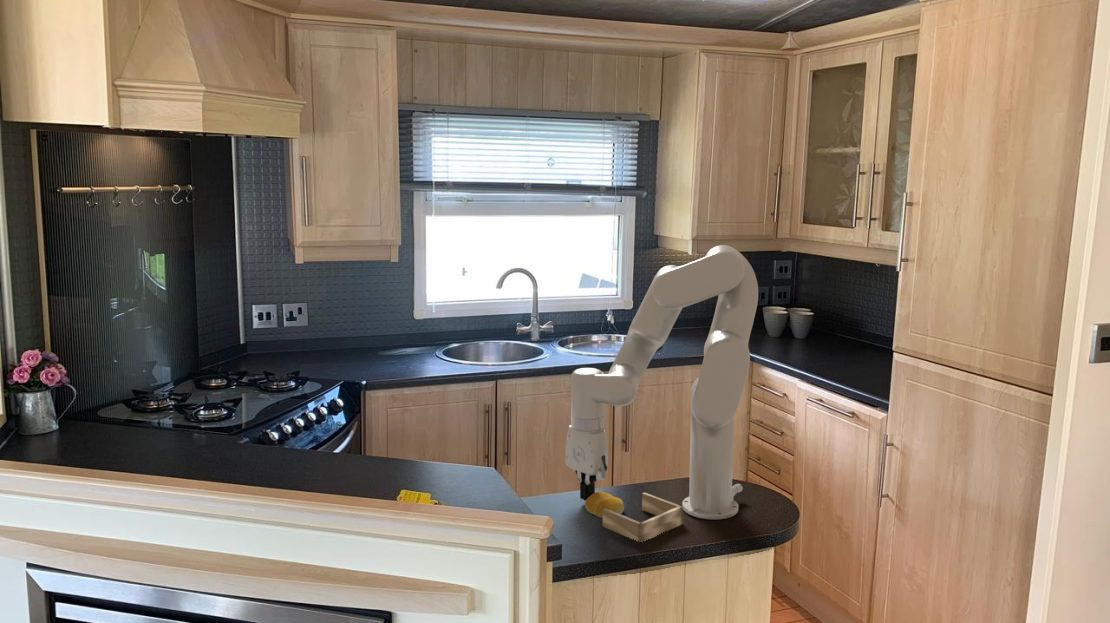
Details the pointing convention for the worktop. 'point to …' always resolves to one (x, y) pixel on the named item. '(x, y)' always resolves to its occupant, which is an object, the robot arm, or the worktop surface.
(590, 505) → the bread roll
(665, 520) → the holder
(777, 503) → the worktop surface
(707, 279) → the robot arm
